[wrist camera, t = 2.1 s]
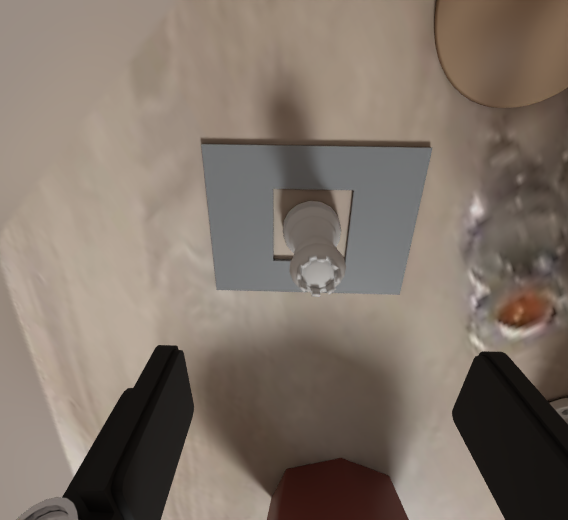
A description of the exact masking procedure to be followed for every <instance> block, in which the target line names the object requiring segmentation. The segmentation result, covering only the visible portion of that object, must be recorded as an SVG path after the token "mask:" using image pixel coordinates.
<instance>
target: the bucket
mask: <svg viewBox="0 0 568 520" xmlns="http://www.w3.org/2000/svg"><path fill="white" fill-rule="evenodd" d="M267 520H409V519H408V517H407V515H406V513H405V510H404V508H403V506H402V504H401V501H400V499H399V497H398V495H397V492H396V490H395V488H394V486H393V483H392V481H391V479H390V477H389V476H388V475H386V474H383V473H380V472H378V471H375V470H372V469H370V468H367V467H364V466H362V465H359V464H356V463H354V462H351V461H348V460H346V459H343V458H338V459H333V460H328V461H323V462H319V463H314V464H309V465H304V466H299V467H294V468H289V469H286V471H285V473H284V475H283V477H282V479H281V481H280V482H279V484H278V486H277V488H276V490H275V492H274V494H273V496H272V498H271V503H270V507H269V512H268V517H267Z"/></svg>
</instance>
